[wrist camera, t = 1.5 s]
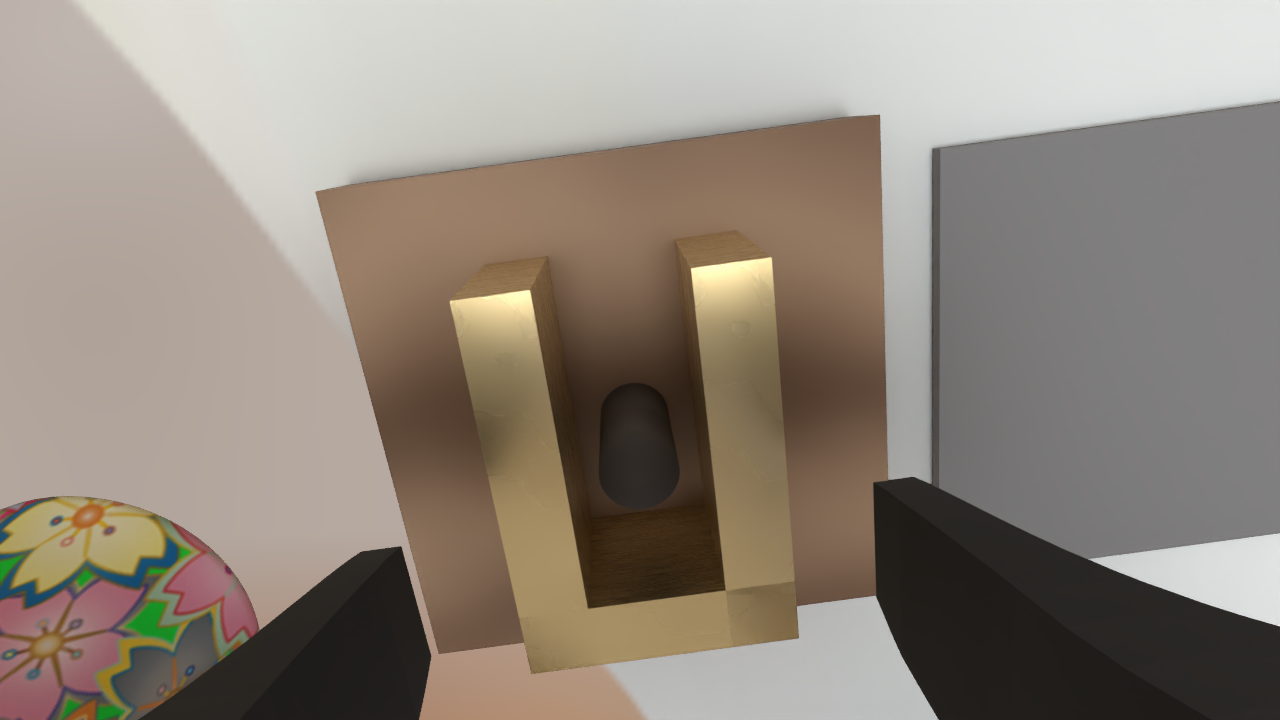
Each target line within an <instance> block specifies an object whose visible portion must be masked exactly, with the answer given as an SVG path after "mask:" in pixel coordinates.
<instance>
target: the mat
mask: <svg viewBox="0 0 1280 720" xmlns="http://www.w3.org/2000/svg"><path fill="white" fill-rule="evenodd" d="M933 486H935V487H937V488H939V489H942V490H944V491H946V492H948V493H950V494H952V495H954V496H956V497H958V498H960V499H962V500H964V501H966V502H968V503H970V504H972V505H973V506H975V507H977V508H979V509H981V510H983V511H985V512H987V513H989V514H991V515H993V516H995V517H997V518H999V519H1001V520H1003V521H1005V522H1008V523H1010V524H1012V525H1014V526H1016V527H1018V528H1020V529H1022V530H1024V531H1026V532H1028V533H1030V534H1032V535H1034V536H1037V537H1039V538H1041V539H1043V540H1045V541H1047V542H1050V543H1052V544H1054V545H1056V546H1058V547H1060V548H1063V549H1065V550H1067V551H1069V552H1072V553H1074V554H1076V555H1079V556H1081V557H1083V558H1086V559H1091V558H1098V557H1106V556H1113V555H1121V554H1128V553H1135V552H1143V551H1150V550H1158V549H1165V548H1173V547H1180V546H1188V545H1195V544H1203V543H1210V542H1218V541H1225V540H1233V539H1240V538H1247V537H1255V536H1262V535H1270V534H1277V533H1280V102H1274V103H1266V104H1259V105H1252V106H1244V107H1237V108H1230V109H1222V110H1215V111H1208V112H1200V113H1193V114H1185V115H1178V116H1171V117H1163V118H1156V119H1149V120H1141V121H1134V122H1127V123H1119V124H1112V125H1105V126H1097V127H1090V128H1083V129H1075V130H1068V131H1061V132H1053V133H1046V134H1039V135H1031V136H1024V137H1017V138H1009V139H1002V140H994V141H987V142H980V143H972V144H965V145H958V146H950V147H943V148H936V149H933Z"/></svg>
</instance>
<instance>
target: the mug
mask: <svg viewBox="0 0 1280 720" xmlns="http://www.w3.org/2000/svg"><path fill="white" fill-rule="evenodd" d="M259 631H260V630H259V626H258V622H257V618H256V615H255V612H254V610H253V607H252V604H251V602H250V600H249V597H248V596H247V593H246V591H245V590H244V588H243V586H242V585H241V583H240V581H239V580H238V578H237V577H236V576H235V574H234V573H233V572H232V570H231V569H230V568H229V567H228V566H227V564H226V563H224V561H223V560H222V559H221V558H220V557H219V556H218V555H217V554H216V553H215V552H214V551H213V550H212V549H211V548H210V547H209V546H207V545H206V544H205V543H204V542H202V541H201V540H200V539H198V538H197V537H196V536H194V535H193V534H191V533H190V532H188V531H187V530H185V529H184V528H182V527H180V526H179V525H177V524H175V523H173V522H171V521H169V520H168V519H165V518H163V517H161V516H159V515H157V514H154V513H152V512H149V511H147V510H144V509H141V508H138V507H135V506H131V505H128V504H124V503H119V502H115V501H110V500H105V499H98V498H90V497H74V496H66V497H65V496H64V497H49V498H42V499H35V500H31V501H26V502H22V503H19V504H16V505H13V506H10V507H7V508H4V509H1V510H0V720H138V719H140V718H141V717H143V716H144V715H146V714H147V713H149V712H150V711H151V710H153V709H154V708H156V707H157V706H159V705H160V704H162V703H163V702H165V701H166V700H168V699H169V698H170V697H172V696H173V695H175V694H176V693H178V692H179V691H180V690H182V689H183V688H185V687H186V686H187V685H189V684H190V683H191V682H193V681H194V680H195V679H197V678H198V677H199V676H201V675H202V674H203V673H205V672H206V671H207V670H209V669H210V668H211V667H213V666H214V665H215V664H217V663H218V662H219V661H221V660H222V659H223V658H225V657H226V656H227V655H229V654H230V653H231V652H233V651H234V650H235V649H237V648H238V647H239V646H241V645H242V644H243V643H245V642H246V641H247V640H249V639H250V638H251V637H252V636H254V635H255V634H256V633H258V632H259Z"/></svg>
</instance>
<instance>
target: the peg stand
mask: <svg viewBox="0 0 1280 720" xmlns="http://www.w3.org/2000/svg"><path fill="white" fill-rule="evenodd" d="M316 196H317V200H318V203H319V207H320V211H321V215H322V218H323V222H324V226H325V230H326V233H327V237H328V241H329V245H330V248H331V252H332V256H333V260H334V263H335V267H336V271H337V274H338V278H339V282H340V286H341V289H342V293H343V297H344V301H345V304H346V308H347V312H348V316H349V319H350V323H351V327H352V331H353V334H354V338H355V342H356V346H357V349H358V353H359V357H360V361H361V364H362V368H363V372H364V376H365V379H366V383H367V386H368V390H369V394H370V398H371V402H372V405H373V409H374V413H375V417H376V420H377V424H378V427H379V432H380V435H381V439H382V443H383V446H384V450H385V454H386V458H387V461H388V465H389V469H390V473H391V477H392V480H393V484H394V488H395V491H396V495H397V499H398V503H399V507H400V510H401V514H402V518H403V521H404V525H405V529H406V533H407V536H408V540H409V544H410V548H411V551H412V555H413V559H414V563H415V566H416V570H417V574H418V578H419V581H420V585H421V589H422V593H423V596H424V600H425V603H426V607H427V611H428V615H429V619H430V622H431V626H432V630H433V633H434V637H435V641H436V645H437V648H438V652H439V654H441V653H450V652H457V651H464V650H472V649H479V648H487V647H494V646H502V645H509V644H517V643H524V638H523V634H522V629H521V625H520V620H519V616H518V611H517V606H516V602H515V597H514V593H513V588H512V584H511V579H510V575H509V570H508V565H507V561H506V556H505V552H504V547H503V543H502V538H501V534H500V529H499V524H498V520H497V515H496V511H495V506H494V502H493V497H492V492H491V488H490V483H489V479H488V474H487V470H486V465H485V461H484V456H483V451H482V447H481V442H480V438H479V433H478V429H477V424H476V420H475V415H474V410H473V406H472V401H471V397H470V392H469V388H468V383H467V379H466V374H465V369H464V365H463V360H462V356H461V351H460V347H459V342H458V338H457V333H456V328H455V324H454V319H453V315H452V310H451V306H450V300H451V299H452V298H453V297H454V296H455V295H456V294H457V293H458V292H459V291H460V290H461V289H462V287H463V286H464V285H465V284H466V283H467V282H468V281H469V280H470V279H471V278H472V277H473V276H474V275H475V274H476V273H477V272H478V271H479V270H480V269H481V268H482V267H483V265H485V264H492V263H500V262H507V261H515V260H522V259H529V258H537V257H544V256H548V262H549V268H550V274H551V279H552V285H553V291H554V297H555V303H556V309H557V314H558V320H559V326H560V332H561V338H562V344H563V349H564V355H565V361H566V367H567V373H568V379H569V385H570V390H571V396H572V402H573V408H574V414H575V420H576V425H577V431H578V437H579V443H580V449H581V455H582V460H583V466H584V472H585V478H586V484H587V490H588V495H589V501H590V507H591V513H592V518H598V517H606V516H613V515H621V514H628V513H635V512H643V511H650V510H658V509H665V508H673V507H680V506H687V505H695V504H702V503H704V498H703V489H702V480H701V472H700V463H699V454H698V445H697V437H696V428H695V419H694V410H693V402H692V393H691V384H690V375H689V367H688V358H687V349H686V340H685V331H684V323H683V314H682V305H681V296H680V288H679V279H678V270H677V261H676V253H675V244H674V239H676V238H684V237H691V236H699V235H706V234H713V233H721V232H728V231H735V230H738V231H739V232H740V233H741V234H743V235H744V236H745V237H746V238H748V239H749V240H750V241H751V242H753V243H754V244H755V245H757V246H758V247H759V248H760V249H762V250H763V251H764V252H765V253H767V254H768V255H769V256H771V257H772V269H773V283H774V297H775V311H776V325H777V339H778V353H779V367H780V381H781V395H782V409H783V423H784V437H785V451H786V465H787V479H788V493H789V507H790V521H791V535H792V549H793V563H794V577H795V591H796V605H797V606H801V605H808V604H816V603H823V602H831V601H838V600H846V599H853V598H860V597H868V596H875V595H876V571H875V535H874V499H873V482H880V481H887V480H888V463H887V417H886V371H885V325H884V279H883V233H882V187H881V141H880V115H868V116H852V117H843V118H836V119H828V120H821V121H814V122H806V123H799V124H792V125H784V126H777V127H770V128H762V129H755V130H748V131H740V132H733V133H726V134H718V135H711V136H704V137H696V138H689V139H682V140H674V141H667V142H660V143H652V144H645V145H638V146H630V147H623V148H616V149H608V150H601V151H594V152H586V153H579V154H572V155H564V156H557V157H550V158H542V159H535V160H528V161H520V162H513V163H506V164H498V165H491V166H484V167H476V168H469V169H462V170H454V171H447V172H440V173H432V174H425V175H418V176H410V177H403V178H396V179H388V180H381V181H374V182H366V183H359V184H352V185H346V186H341V187H336V188H331V189H326V190H321V191H316Z"/></svg>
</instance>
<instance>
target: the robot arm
mask: <svg viewBox="0 0 1280 720" xmlns="http://www.w3.org/2000/svg"><path fill="white" fill-rule="evenodd" d="M873 499H874V535H875V571H876V597H877V599H878V602H879V604H880V607H881V609H882V611H883V614H884V616H885V619H886V621H887V624H888V626H889V628H890V631H891V633H892V635H893V637H894V640H895V642H896V644H897V646H898V649H899V651H900V653H901V656H902V657H903V659H904V661H905V663H906V664H907V666H908V668H909V670H910V671H911V673H912V675H913V677H914V678H915V680H916V682H917V683H918V685H919V687H920V689H921V690H922V692H923V694H924V695H925V697H926V699H927V701H928V702H929V704H930V706H931V707H932V709H933V711H934V713H935V714H936V716H937V718H938V719H939V720H1280V627H1279V626H1276V625H1273V624H1269V623H1266V622H1262V621H1259V620H1255V619H1252V618H1248V617H1245V616H1241V615H1238V614H1235V613H1232V612H1229V611H1226V610H1223V609H1219V608H1216V607H1213V606H1210V605H1207V604H1204V603H1201V602H1198V601H1195V600H1193V599H1190V598H1187V597H1184V596H1181V595H1179V594H1176V593H1173V592H1170V591H1167V590H1164V589H1162V588H1159V587H1156V586H1153V585H1150V584H1148V583H1145V582H1142V581H1139V580H1137V579H1134V578H1132V577H1129V576H1127V575H1124V574H1122V573H1119V572H1116V571H1114V570H1112V569H1109V568H1107V567H1104V566H1102V565H1100V564H1097V563H1095V562H1093V561H1090V560H1088V559H1086V558H1083V557H1081V556H1079V555H1076V554H1074V553H1072V552H1069V551H1067V550H1065V549H1063V548H1060V547H1058V546H1056V545H1054V544H1052V543H1050V542H1047V541H1045V540H1043V539H1041V538H1039V537H1037V536H1034V535H1032V534H1030V533H1028V532H1026V531H1024V530H1022V529H1020V528H1018V527H1016V526H1014V525H1012V524H1010V523H1008V522H1005V521H1003V520H1001V519H999V518H997V517H995V516H993V515H991V514H989V513H987V512H985V511H983V510H981V509H979V508H977V507H975V506H973V505H972V504H970V503H968V502H966V501H964V500H962V499H960V498H958V497H956V496H954V495H952V494H950V493H948V492H946V491H944V490H942V489H939V488H937V487H935V486H933V485H931V484H929V483H927V482H924V481H922V480H920V479H917V478H915V477H909V478H902V479H895V480H887V481H880V482H873ZM430 661H431V654H430V650H429V646H428V643H427V639H426V635H425V632H424V628H423V624H422V621H421V617H420V613H419V610H418V606H417V603H416V599H415V595H414V591H413V588H412V584H411V581H410V577H409V573H408V569H407V566H406V562H405V558H404V555H403V551H402V547H401V546H400V547H392V548H385V549H378V550H370V551H363V552H360V553H359V554H357V555H356V556H354V557H353V558H351V559H350V560H348V561H347V562H346V563H344V564H343V565H342V566H340V567H339V568H338V569H336V570H335V571H334V572H332V573H331V574H330V575H329V576H327V577H326V578H325V579H323V580H322V581H321V582H320V583H318V584H317V585H316V586H315V587H314V588H312V589H311V590H310V591H309V592H307V593H306V594H305V595H304V596H302V597H301V598H300V599H299V600H298V601H296V602H295V603H294V604H292V605H291V606H290V607H289V608H287V609H286V610H285V611H284V612H283V613H281V614H280V615H279V616H278V617H276V618H275V619H274V620H272V621H271V622H270V623H269V624H268V625H266V626H265V627H264V628H263V629H261V630H260V631H259V632H258V633H256V634H255V635H254V636H252V637H251V638H250V639H249V640H247V641H246V642H245V643H243V644H242V645H241V646H239V647H238V648H237V649H235V650H234V651H233V652H231V653H230V654H229V655H227V656H226V657H225V658H223V659H222V660H221V661H219V662H218V663H217V664H215V665H214V666H213V667H211V668H210V669H209V670H207V671H206V672H205V673H203V674H202V675H201V676H199V677H198V678H197V679H195V680H194V681H193V682H191V683H190V684H189V685H187V686H186V687H185V688H183V689H182V690H180V691H179V692H178V693H176V694H175V695H173V696H172V697H170V698H169V699H168V700H166V701H165V702H163V703H162V704H160V705H159V706H157V707H156V708H154V709H153V710H151V711H150V712H149V713H147V714H146V715H144V716H143V717H141V718H140V719H138V720H419V717H420V712H421V708H422V703H423V698H424V693H425V688H426V683H427V677H428V671H429V666H430Z"/></svg>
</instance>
